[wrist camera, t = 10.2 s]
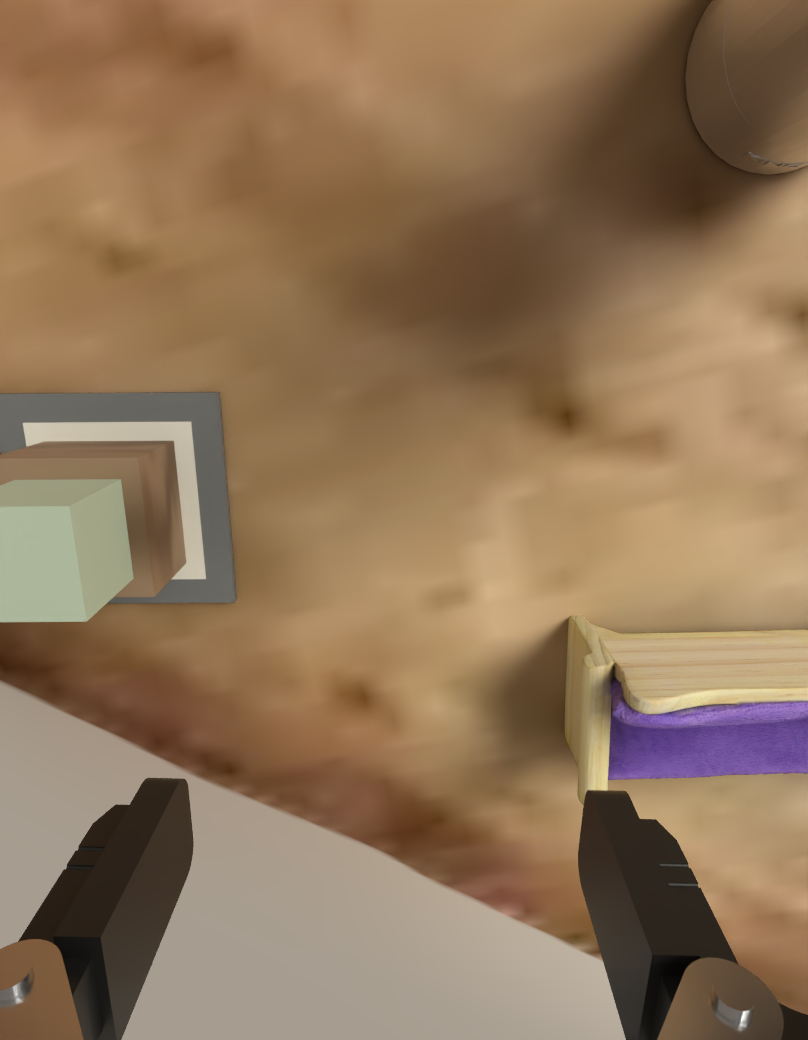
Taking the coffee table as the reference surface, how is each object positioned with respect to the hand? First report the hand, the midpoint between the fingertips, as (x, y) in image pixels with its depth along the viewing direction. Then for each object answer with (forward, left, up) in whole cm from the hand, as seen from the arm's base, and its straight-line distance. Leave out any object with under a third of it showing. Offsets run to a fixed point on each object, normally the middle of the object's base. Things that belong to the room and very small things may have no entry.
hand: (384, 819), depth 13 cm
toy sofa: (+11, +20, -26) cm, 34 cm away
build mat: (0, -15, -25) cm, 29 cm away
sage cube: (0, -15, -19) cm, 25 cm away
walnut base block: (0, -15, -24) cm, 29 cm away
